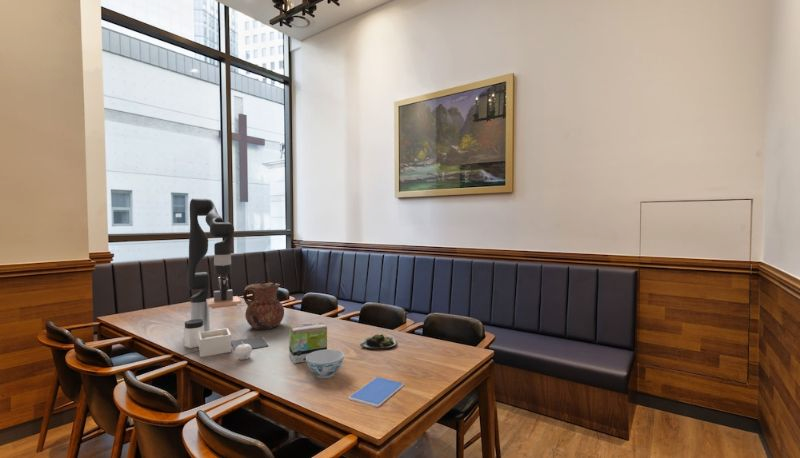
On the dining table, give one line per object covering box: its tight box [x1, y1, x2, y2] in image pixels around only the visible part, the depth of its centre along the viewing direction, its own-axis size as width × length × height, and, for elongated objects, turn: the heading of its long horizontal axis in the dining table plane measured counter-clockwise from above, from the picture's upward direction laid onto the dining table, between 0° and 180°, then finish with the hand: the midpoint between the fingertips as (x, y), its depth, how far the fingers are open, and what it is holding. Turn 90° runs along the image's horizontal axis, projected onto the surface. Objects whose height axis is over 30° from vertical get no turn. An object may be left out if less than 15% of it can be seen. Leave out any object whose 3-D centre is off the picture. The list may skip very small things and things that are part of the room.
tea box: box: [288, 321, 328, 365], centre depth 167 cm, size 15×10×15 cm
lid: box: [206, 288, 242, 309], centre depth 180 cm, size 14×14×7 cm
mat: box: [231, 336, 269, 351], centre depth 186 cm, size 17×15×1 cm
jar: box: [183, 319, 204, 349], centre depth 186 cm, size 9×8×12 cm
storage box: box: [198, 327, 232, 358], centre depth 178 cm, size 13×13×8 cm
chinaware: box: [305, 348, 345, 379], centre depth 149 cm, size 15×15×8 cm
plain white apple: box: [234, 341, 253, 361], centre depth 167 cm, size 7×7×8 cm
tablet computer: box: [348, 376, 405, 408], centre depth 134 cm, size 19×13×1 cm, turn 152°
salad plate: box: [359, 333, 397, 351], centre depth 186 cm, size 19×18×5 cm
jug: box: [242, 282, 285, 330], centre depth 217 cm, size 22×21×25 cm
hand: (223, 298), depth 180 cm, fingers closed on lid, 4 cm apart
